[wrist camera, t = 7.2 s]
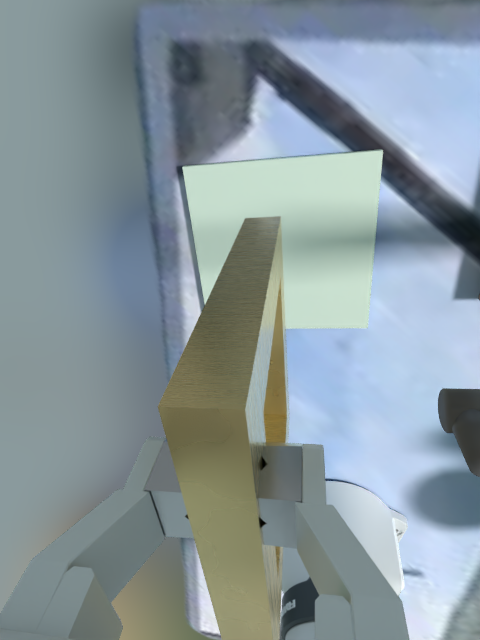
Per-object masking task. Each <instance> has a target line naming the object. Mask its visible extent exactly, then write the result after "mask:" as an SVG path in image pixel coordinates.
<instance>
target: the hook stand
mask: <svg viewBox="0 0 480 640" xmlns="http://www.w3.org/2000/svg"><path fill="white" fill-rule="evenodd" d="M479 300H480V295H479ZM438 413H439V419H440V423H441V425H442V428H443V430H444V431H445V432H446V433H454V435H455V438H456V440H457V442H458V444H459V447H460V449H461V451H462V453H463V456H464V458H465V460H466V463H467V465H468V467H469V469H470V471H471V472H472V473H473V474H474V475H476V476H478V477H480V389H442V390H441V391H440V393H439V398H438Z"/></svg>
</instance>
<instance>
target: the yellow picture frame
mask: <svg viewBox="0 0 480 640" xmlns="http://www.w3.org/2000/svg"><path fill="white" fill-rule="evenodd" d="M158 409H159V413H160V417H161V420H162V424H163V427H164V431H165V435H166V438H167V442H168V446H169V449H170V453H171V456H172V460H173V464H174V467H175V471H176V475H177V478H178V482H179V485H180V489H181V493H182V496H183V500H184V504H185V507H186V511H187V514H188V518H189V522H190V525H191V529H192V532H193V536H194V540H195V543H196V547H197V551H198V554H199V558H200V561H201V565H202V569H203V572H204V576H205V580H206V583H207V587H208V590H209V594H210V598H211V601H212V605H213V609H214V612H215V616H216V619H217V623H218V627H219V630H220V634H221V637H222V640H279V631H280V609H281V587H282V565H283V547H278V546H270V545H263V543H262V534H261V520H262V519H261V518H260V517H259V509H258V500H257V496H258V487H259V478H260V471H261V470H262V469H263V461H262V452H263V445H264V443H265V442H269V443H288V433H289V396H288V373H287V349H286V325H285V301H284V278H283V254H282V230H281V216H276V217H258V218H245V220H244V222H243V224H242V226H241V228H240V230H239V233H238V235H237V237H236V239H235V241H234V243H233V246H232V248H231V250H230V252H229V254H228V256H227V259H226V261H225V263H224V265H223V267H222V269H221V272H220V274H219V276H218V278H217V280H216V282H215V284H214V287H213V289H212V291H211V293H210V295H209V297H208V300H207V302H206V304H205V306H204V308H203V310H202V313H201V315H200V317H199V319H198V321H197V323H196V326H195V328H194V330H193V332H192V334H191V336H190V338H189V341H188V343H187V345H186V347H185V349H184V351H183V354H182V356H181V358H180V360H179V362H178V364H177V367H176V369H175V371H174V373H173V375H172V377H171V380H170V382H169V384H168V386H167V388H166V390H165V392H164V395H163V397H162V399H161V401H160V403H159V406H158Z"/></svg>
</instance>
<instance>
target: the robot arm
mask: <svg viewBox="0 0 480 640" xmlns="http://www.w3.org/2000/svg"><path fill="white" fill-rule="evenodd" d="M262 461H263V469H262V470H261V471H260V478H259V487H258V496H257V500H258V509H259V517H260V518H261V519H262V520H261V534H262V543H263V545H270V546H278V547H283V565H282V587H281V589H282V591H283V594H284V595H283V598H282V611H281V636H282V639H283V640H409V635H408V630H407V625H406V619H405V614H404V609H403V604H402V601H401V599H400V598H399V595H400V593H401V590H402V589H404V578H403V571H402V565H401V559H400V552H399V546H398V543H399V541H400V540H401V538H402V536H403V535H404V533H405V531H406V530H407V528H408V525H407V519H406V517H405V516H403V515H402V514H400V513H398V512H396V511H394V510H391V509H390V508H388V507H387V506H386V505H385V504H384V503H383V502H382V500H381V499H380V498H378V497H377V496H376V495H375V494H373V493H371V492H370V491H368V490H366V489H364V488H362V487H359V486H356V485H353V484H349V483H344V482H337V481H325V465H324V448H323V445H316V444H303V445H302V444H299V443H269V442H265V443H264V445H263V452H262ZM164 536H165V537H181V538H194V536H193V532H192V529H191V525H190V522H189V518H188V514H187V511H186V507H185V504H184V500H183V496H182V493H181V489H180V485H179V482H178V478H177V475H176V471H175V467H174V464H173V460H172V456H171V453H170V449H169V446H168V442H167V438H164V437H149V438H148V439H147V440H146V441H145V443H144V445H143V447H142V449H141V451H140V454H139V456H138V458H137V460H136V462H135V465H134V467H133V469H132V471H131V473H130V475H129V478H128V480H127V482H126V484H125V486H124V489H123V490H121V489H118V490H116V491H115V492H114V493H113V494H111V495H110V496H109V497H108V498H106V499H105V500H104V501H103V502H102V503H100V504H99V505H98V506H97V507H95V508H94V509H93V510H92V511H90V512H89V513H88V514H87V515H86V516H84V517H83V518H82V519H81V520H79V521H78V522H77V523H76V524H75V525H73V526H72V527H71V528H70V529H69V530H67V531H66V532H65V533H63V534H62V535H61V536H60V537H59V538H57V539H56V540H55V541H54V542H52V543H51V544H50V545H49V546H48V547H46V548H45V549H44V550H43V551H42V552H40V553H39V554H38V555H37V556H35V557H34V558H33V559H32V560H31V562H30V563H29V565H28V567H27V568H26V570H25V572H24V574H23V575H22V577H21V579H20V580H19V582H18V584H17V585H16V587H15V589H14V591H13V592H12V594H11V596H10V598H9V599H8V601H7V603H6V604H5V606H4V608H3V610H2V611H1V613H0V640H119V638H120V635H121V632H122V629H123V626H122V623H121V620H120V618H119V617H118V615H117V613H116V611H115V610H114V608H113V606H112V604H111V602H112V601H113V599H114V598H115V597H116V596H117V595H118V593H119V592H120V591H121V590H122V589H123V588H124V586H125V585H126V584H127V583H128V582H129V580H130V579H131V578H132V577H133V576H134V575H135V574H136V572H137V571H138V570H139V569H140V568H141V566H142V565H143V564H144V563H145V562H146V560H147V559H148V558H149V557H150V556H151V555H152V553H153V552H154V551H155V550H156V549H157V547H158V546H159V545H160V544H161V543H162V542H163V540H164V539H165V537H164Z"/></svg>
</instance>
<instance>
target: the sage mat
mask: <svg viewBox="0 0 480 640" xmlns="http://www.w3.org/2000/svg"><path fill="white" fill-rule="evenodd" d="M382 156H383V150H382V149H380V150H368V151H356V152H344V153H332V154H320V155H308V156H296V157H284V158H271V159H259V160H247V161H235V162H223V163H211V164H199V165H187V166H183V167H182V168H183V174H184V181H185V187H186V193H187V199H188V205H189V211H190V217H191V224H192V230H193V236H194V242H195V248H196V254H197V261H198V267H199V273H200V279H201V285H202V291H203V298H204V304H206V302H207V300H208V297H209V295H210V293H211V291H212V289H213V287H214V284H215V282H216V280H217V278H218V276H219V274H220V272H221V269H222V267H223V265H224V263H225V261H226V259H227V256H228V254H229V252H230V250H231V248H232V246H233V243H234V241H235V239H236V237H237V235H238V233H239V230H240V228H241V226H242V224H243V222H244V220H245V218H258V217H276V216H281V230H282V254H283V278H284V301H285V325H286V329H289V328H368V318H369V306H370V295H371V283H372V272H373V260H374V248H375V237H376V225H377V214H378V202H379V191H380V179H381V168H382Z"/></svg>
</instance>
